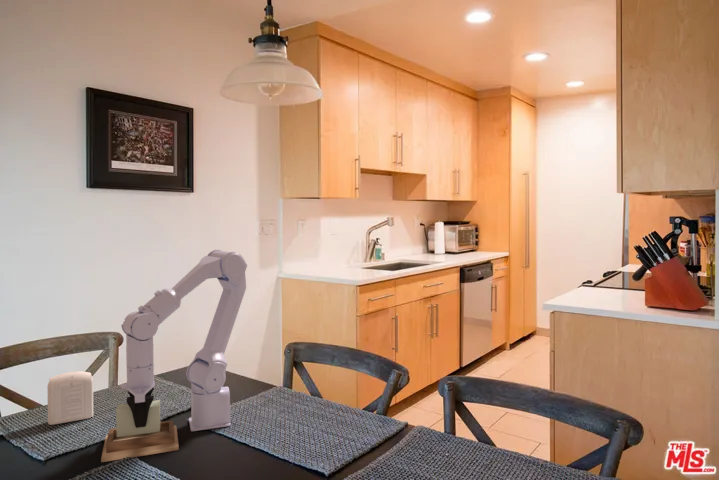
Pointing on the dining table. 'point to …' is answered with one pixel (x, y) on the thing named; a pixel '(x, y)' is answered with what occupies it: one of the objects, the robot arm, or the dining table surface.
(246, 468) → the dining table surface
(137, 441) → the slot board
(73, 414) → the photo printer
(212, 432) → the dining table surface
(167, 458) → the dining table surface
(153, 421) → the beige block
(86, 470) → the dining table surface
